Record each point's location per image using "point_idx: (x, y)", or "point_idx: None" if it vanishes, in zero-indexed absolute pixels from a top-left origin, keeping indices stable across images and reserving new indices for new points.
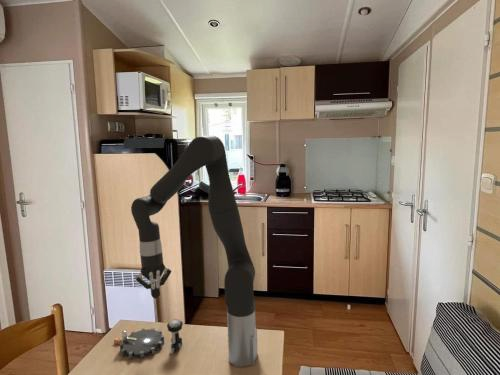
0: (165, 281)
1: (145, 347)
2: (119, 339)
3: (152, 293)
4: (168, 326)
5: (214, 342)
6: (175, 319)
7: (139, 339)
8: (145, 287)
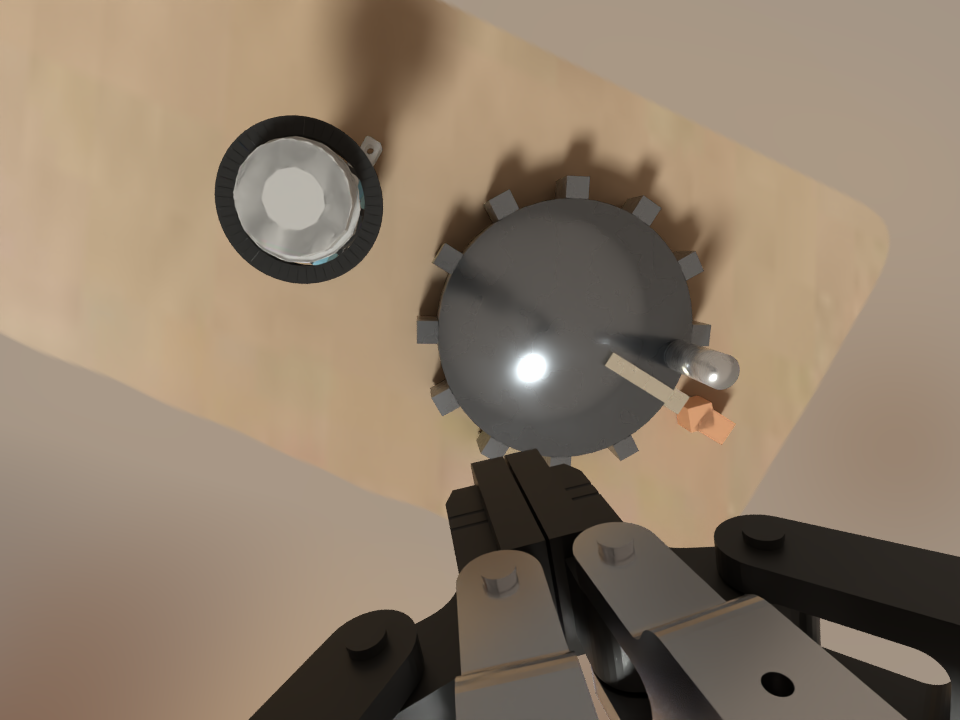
0: (268, 706)
1: (552, 231)
2: (703, 415)
3: (587, 499)
4: (368, 188)
5: (34, 175)
6: (283, 245)
7: (587, 348)
8: (829, 536)
